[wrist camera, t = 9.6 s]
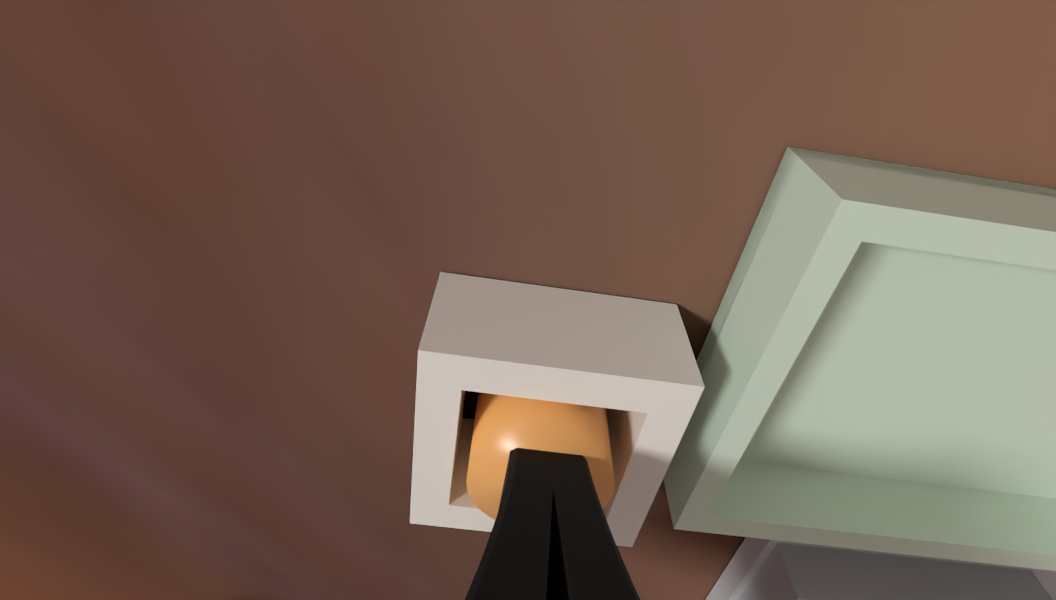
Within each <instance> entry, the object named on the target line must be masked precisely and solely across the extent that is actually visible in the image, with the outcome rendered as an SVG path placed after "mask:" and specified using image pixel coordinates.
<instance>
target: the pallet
mask: <svg viewBox="0 0 1056 600" xmlns="http://www.w3.org/2000/svg"><path fill="white" fill-rule="evenodd" d="M705 600H1056V571H1050V570H1040V569H1031V568H1022V567H1013V566H1004V565H995V564H986V563H977V562H968V561H959V560H950V559H941V558H932V557H923V556H913V555H904V554H895V553H886V552H877V551H868V550H859V549H850V548H841V547H832V546H823V545H814V544H805V543H796V542H786V541H777V540H768V539H759V538H750V537H746V538H745V539H744V541H743V542H742V544H741V545H740V547H739V548H738V550H737V552H736V553H735V555H734V556H733V558H732V559H731V561H730V562H729V564H728V565H727V567H726V569H725V570H724V572H723V573H722V575H721V576H720V578H719V579H718V581H717V582H716V584H715V586H714V587H713V589H712V590H711V592H710V593H709V595H708V596H707V598H706V599H705Z"/></svg>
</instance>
